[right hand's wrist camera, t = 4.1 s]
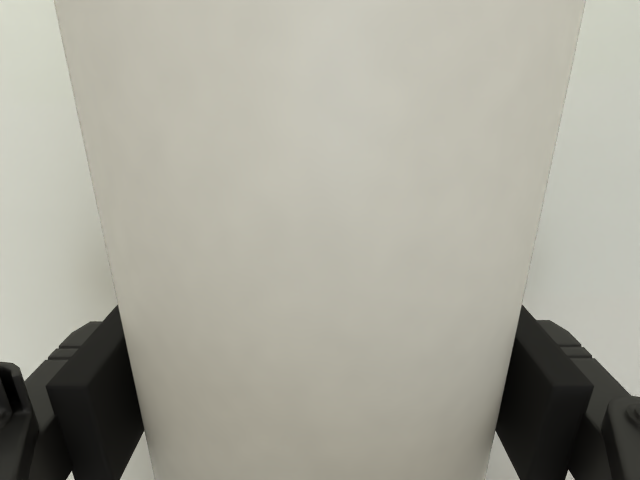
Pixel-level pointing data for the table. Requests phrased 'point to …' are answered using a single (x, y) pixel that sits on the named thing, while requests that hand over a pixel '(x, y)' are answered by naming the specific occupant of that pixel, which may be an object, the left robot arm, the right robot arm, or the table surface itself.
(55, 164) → the table surface
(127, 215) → the white cylinder
